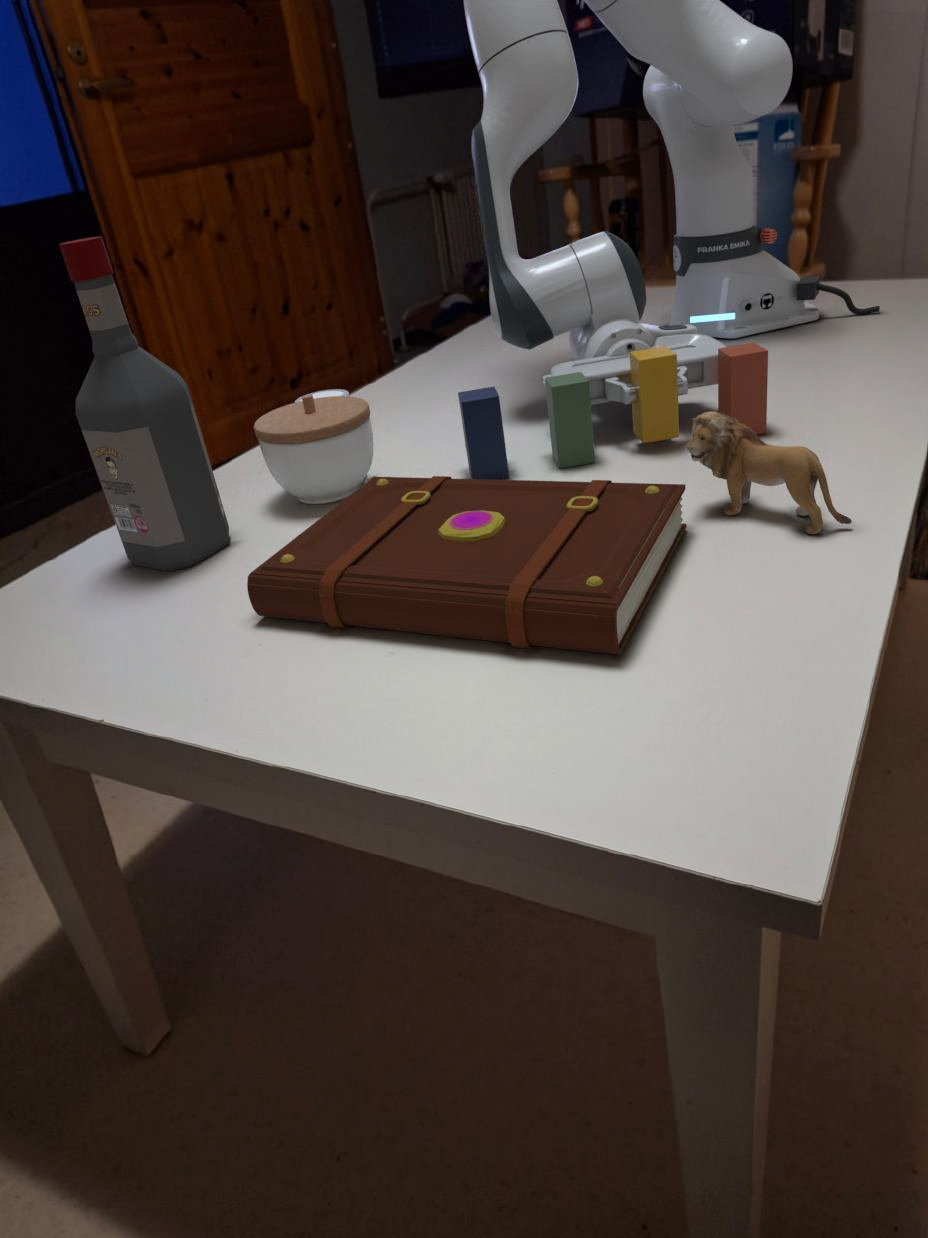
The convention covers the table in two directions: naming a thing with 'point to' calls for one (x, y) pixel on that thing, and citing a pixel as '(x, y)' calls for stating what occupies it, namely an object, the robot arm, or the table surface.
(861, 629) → the table surface
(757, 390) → the terracotta block
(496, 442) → the navy block
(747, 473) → the lion figurine
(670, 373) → the mustard block
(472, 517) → the book
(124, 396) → the liquor
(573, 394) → the sage block
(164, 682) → the table surface
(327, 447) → the lidded bowl
